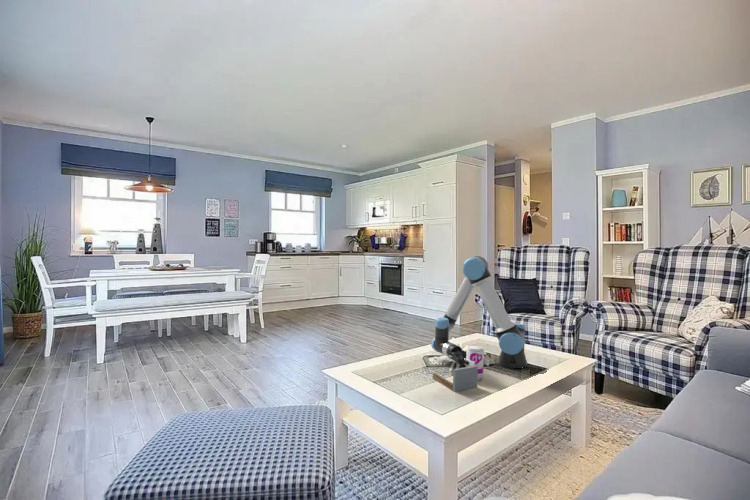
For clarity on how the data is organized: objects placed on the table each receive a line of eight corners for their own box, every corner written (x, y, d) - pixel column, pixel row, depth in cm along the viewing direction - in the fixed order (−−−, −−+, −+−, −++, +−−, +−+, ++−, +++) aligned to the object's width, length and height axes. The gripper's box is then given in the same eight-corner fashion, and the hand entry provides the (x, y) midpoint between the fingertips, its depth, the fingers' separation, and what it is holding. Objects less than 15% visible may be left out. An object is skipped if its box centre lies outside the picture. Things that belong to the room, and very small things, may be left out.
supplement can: (483, 380, 185) (484, 350, 184) (466, 379, 187) (466, 349, 186) (482, 374, 193) (483, 345, 192) (465, 373, 195) (466, 344, 194)
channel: (453, 374, 194) (454, 369, 194) (475, 386, 180) (475, 381, 180) (432, 378, 189) (432, 373, 188) (452, 390, 174) (452, 385, 174)
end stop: (475, 386, 180) (475, 365, 179) (477, 387, 179) (477, 366, 178) (452, 390, 174) (453, 369, 174) (454, 392, 173) (455, 370, 172)
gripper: (467, 355, 210) (497, 368, 190) (436, 360, 201) (464, 374, 181) (467, 341, 210) (497, 353, 190) (436, 346, 201) (464, 359, 181)
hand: (481, 364), depth 185 cm, fingers closed on supplement can, 8 cm apart
